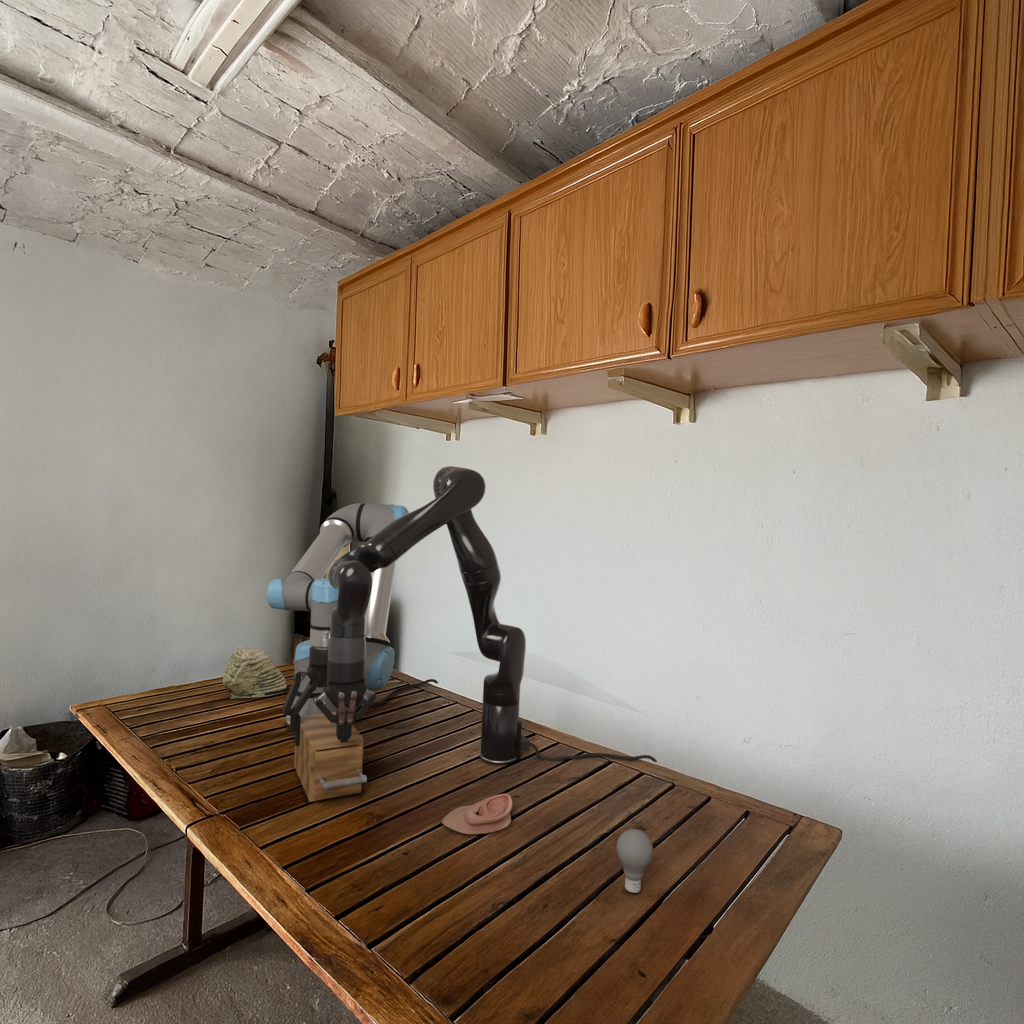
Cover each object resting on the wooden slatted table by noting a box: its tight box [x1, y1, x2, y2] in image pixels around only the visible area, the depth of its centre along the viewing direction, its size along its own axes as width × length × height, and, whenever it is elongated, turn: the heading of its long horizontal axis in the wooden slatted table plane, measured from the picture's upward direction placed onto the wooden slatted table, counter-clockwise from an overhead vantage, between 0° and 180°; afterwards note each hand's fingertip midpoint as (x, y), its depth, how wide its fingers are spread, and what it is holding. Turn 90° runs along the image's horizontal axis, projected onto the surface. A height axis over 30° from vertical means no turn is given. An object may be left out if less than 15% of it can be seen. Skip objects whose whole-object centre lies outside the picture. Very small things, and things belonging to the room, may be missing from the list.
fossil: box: [222, 646, 288, 699], centre depth 198 cm, size 9×18×15 cm, turn 132°
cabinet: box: [293, 712, 365, 803], centre depth 142 cm, size 19×11×12 cm, turn 28°
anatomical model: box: [441, 793, 513, 835], centre depth 126 cm, size 13×4×12 cm
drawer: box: [313, 745, 368, 801], centre depth 138 cm, size 23×10×10 cm, turn 28°
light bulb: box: [615, 828, 654, 894], centre depth 106 cm, size 6×6×10 cm
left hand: (322, 740), depth 147 cm, fingers closed on cabinet, 11 cm apart
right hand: (343, 740), depth 130 cm, fingers closed
